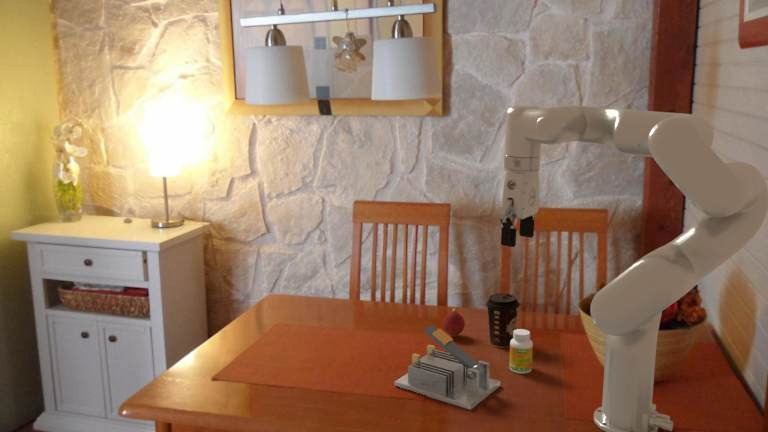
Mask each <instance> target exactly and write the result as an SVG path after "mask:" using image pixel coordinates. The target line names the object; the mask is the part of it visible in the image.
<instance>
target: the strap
mask: <svg viewBox="0 0 768 432" xmlns="http://www.w3.org/2000/svg"><path fill="white" fill-rule="evenodd" d="M423 332H424V333H425V334H426V335H427V336H428V337H429V338H430V339H431V340H433V342H435V343H436V344H438V346H440V347H441V348H442V349H443V350H445V351H446V353H449V354H451V355H452V356H453V357H454V358H455V359H457V360H458V361H459V362H460V363H461V364H462V365H464V366H465V367H466V368H467V369H469V368H472V369H476V370H479V376H481V375H482V374H483V373H485V372H486V366H485V365H484V364H483V363H478V361H477V360H475V358H473V357H472V356H471V355H469V353H467V352H466V351H465V350H464V349H462V348H461V347H460V346H459V345H457V344H456V343H455V342H454V341H453V340H454V339H453V337H452V336H451V335H449V334H448V333H447V332H446V331H445V330H443V329H441V328H437V327H436V326H435V325H433V324H431V325H430V326H428V327H426V328H424V330H423Z"/></svg>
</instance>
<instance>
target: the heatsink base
mask: <svg viewBox="0 0 768 432" xmlns="http://www.w3.org/2000/svg"><path fill="white" fill-rule="evenodd" d="M477 362H478V363H483V364H484V365H485V366H486V372H485V373H483V374H482V375H481V376H479V370H476V369H472V368H469V369H467V368H466V367H465V366H464V365H462V364H461V363H460V362H459V361H458V360H457V359H455V358H454V357H453V356H452V355H451V354H449V353H448V352H447V351H446V352H445V351H441V350H439V349H436V345H433V344H428V345H426V354H425V355H424V356H422V357H421V354H417V353H416V352H415V353H413V354H411V364H410V365H407V372H406V373H405V374H404V375H402V376H401V377H400V378H398V379H396V380H395V381H394V387H395V386H398V387H400V388H399V389H402V388H403V389H402V390H405V389H407V390H406V391H408V390H411V391H414V392H417V393H416V394H418V393H420V394H419V395H421V394H423V395H422V396H424V395H426V396H425V397H428V398H431V399H433V400H434V399H435V400H437V401H440V402H443V403H447V404H450V405H452V406H453V405H454V406H457V407H460V408H462V409H466V410H470V411H471V410H472V409H474V408H475V407H476V406H477V405H479V404H480V403H481V402H482V401H484V400H485V399H486V398H487V397H489V396H490V395H491V394H492V393H494V392H495V391H496V390H497V389H498V388H499V387H501V381H500V380H497V379H493V378H490V362H488V361H484V360H478V361H477ZM398 387H397V388H398ZM411 391H410V392H411ZM414 392H413V393H414Z"/></svg>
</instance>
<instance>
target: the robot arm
mask: <svg viewBox="0 0 768 432" xmlns="http://www.w3.org/2000/svg"><path fill="white" fill-rule="evenodd" d="M714 138H715V134H714V129H713V127H712V124H711V123H710V122H709V121H708V120H707V119H706V118H704V117H702V116H700V115H697V114H692V113H681V112H668V111H667V112H666V111H653V110H641V109H629V108H628V109H627V108H610V107H609V108H608V107H599V106H598V107H597V106H587V105H586V106H585V105H560V106H552V107H542V108H541V107H539V106H536V105H527V104H526V105H521V104H520V105H513V106H510V107H509V108H508V109H507V111H506V121H505V140H504V141H505V142H504V157H503V158H504V159H503V171H504V172H505V174H504V175H505V176H504V180H503V181H504V182H503V191H502V201H501V209H500V210H499V215H500V228H501V234H500V235H501V237H500V244H501V246H504V247H511V248H515V247H516V246H517V245H516V244H517V228H516V225H517V222H518V219H519V233H518V234H519V236H520V237H525V238H533V237H534V236H535V235H534V233H535V220H536V214H537V213H538V212H539V209H540V173H539V172H540V166H541V165H540V164H541V152H542V151H541V149H542V144H544V145H547V146H548V145H549V146H551V145H553V146H554V145H560V144H564V143H569V142H583V143H589V144H590V143H591V144H592V143H593V144H601V145H605V146H608V147H612V148H613V149H614V150H615V152H617V153H619V154H621V155H627V156H628V155H630V156H637V157H638V156H641V157H649V158H653V159H654V161H655V163H656V164H657V165H658V166H659V167H660V168H661V170H662V171H663V172H664V174H665V175H666V176H667V177H668V178H669V179H670V181H672V183H673V184H674V185H675V186H676V187H677V188H678V190H679V191H680V192H681V193H682V194H683V196H684V197H685V198H686V199H687V200H688V201H689V202H690V203H691V204H692V206H693V207H695V208H696V209H697V210H698V211H700V212H701V213H702V214H704V216H702V217H701V218H700V219H698V220H697V221H696V222H694V223H693V224H692V225H690V227H689V228H687V229H686V230H685V231H684V232H682V233H681V234H680V235H678V236H677V237H675V238H674V239H673V240H672V241H670V242H668V243H666V244H665V245H663V246H661V247H658V248H655V249H654V250H653V251H650V252H649V253H647V254H645V255H644V256H642V257H641V258H639V259H637V260H636V261H635V262H634V263H632V264H631V265H630V266H629V267H628V268H627V269H625V270H623V272H621V273H620V274H619V275H618V276H616V277H614V278H613V279H612V280H611V281H610V282H608V283H607V284H606V285H605V286H603V287H602V288H601V289H600V290H598V291H597V292H596V293H595V295H594V296H593V298H592V299H591V300H592V301H591V303H590V309H589V310H590V317H591V320H592V322H593V324H594V325H595V327H596V328H597V329H598V330H600V331H601V332H602V333H604V334H606V339H605V340H606V341H605V349H604V350H605V352H604V366H603V367H604V370H603V371H604V372H603V384H602V386H603V387H602V388H603V389H602V401H601V404H602V405H601V406H600V407H598V408H596V409H595V411H594V413H593V422H594V424H595V425H596V426H597V427H598V428H599V429H600V430H602V431H603V432H658V431H659V428H660V429H663V430H664V431H669V432H672V430H673V427H674V421H673V420H671V419H670V418H671V416H670V415H668V414H664V413H659V411H657V410H656V409H657V405H656V404H655V403H653V393H654V382H655V381H654V380H655V368H656V367H655V366H656V355H657V343H658V336H659V335H658V334H659V329H660V324H661V318H662V314H663V311H664V310H666V309H667V308H669V307H670V306H671V305H673V304H674V303H676V302H677V301H678V300H680V299H681V298H682V297H684V296H685V295H686V294H687V293H690V292H691V291H692V289H693V288H695V287H696V286H697V284H698V283H700V281H701V280H703V279H704V278H705V277H706V276H708V275H709V274H710V273H712V272H713V271H714V270H716V269H717V268H719V267H720V266H722V265H723V264H724V263H725V262H726V261H728V260H729V259H730V258H732V257H733V256H734V255H736V254H737V253H738V252H739V251H741V249H743V248H744V247H745V246H746V245H747V244H749V242H751V240H752V239H754V237H755V236H756V234H758V232H759V230H760V229H761V227H762V225H763V224H764V221H765V219H766V218H767V214H768V185H767V182H766V180H765V177H764V175H763V174H762V173H761V171H760V170H759V169H758V168H757V167H756V166H754V165H752V164H751V163H747V162H744V161H730V162H726V163H725V162H724V161H723V160H722V158H721V157H720V156H719V155H718V154H717V153H716V152H715V151H714V149H712V146H713V143H714Z"/></svg>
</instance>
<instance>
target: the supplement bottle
mask: <svg viewBox="0 0 768 432" xmlns="http://www.w3.org/2000/svg"><path fill="white" fill-rule="evenodd" d="M513 337H514V338H513V339H512V340H511V341H510V347H509V369H510V371H511V372H513V373H516V374H522V375H524V374H529V373H531V372H532V369H533V348H534V347H533V346H534V345H533V344H534V343H533V341H532V340H531V332H530V331H529V330H528V329H524V328H517V329H515V330H514V331H513Z"/></svg>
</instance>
